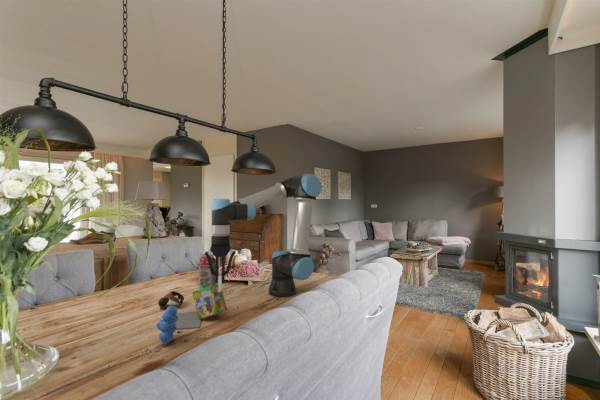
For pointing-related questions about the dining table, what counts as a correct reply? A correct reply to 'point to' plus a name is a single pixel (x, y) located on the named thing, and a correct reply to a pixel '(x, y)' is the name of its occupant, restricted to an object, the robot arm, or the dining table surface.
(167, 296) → the brown ring
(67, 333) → the dining table surface
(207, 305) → the chalk box
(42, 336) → the dining table surface
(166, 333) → the grapes
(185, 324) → the mat
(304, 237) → the robot arm
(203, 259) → the juice carton
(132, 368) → the dining table surface
